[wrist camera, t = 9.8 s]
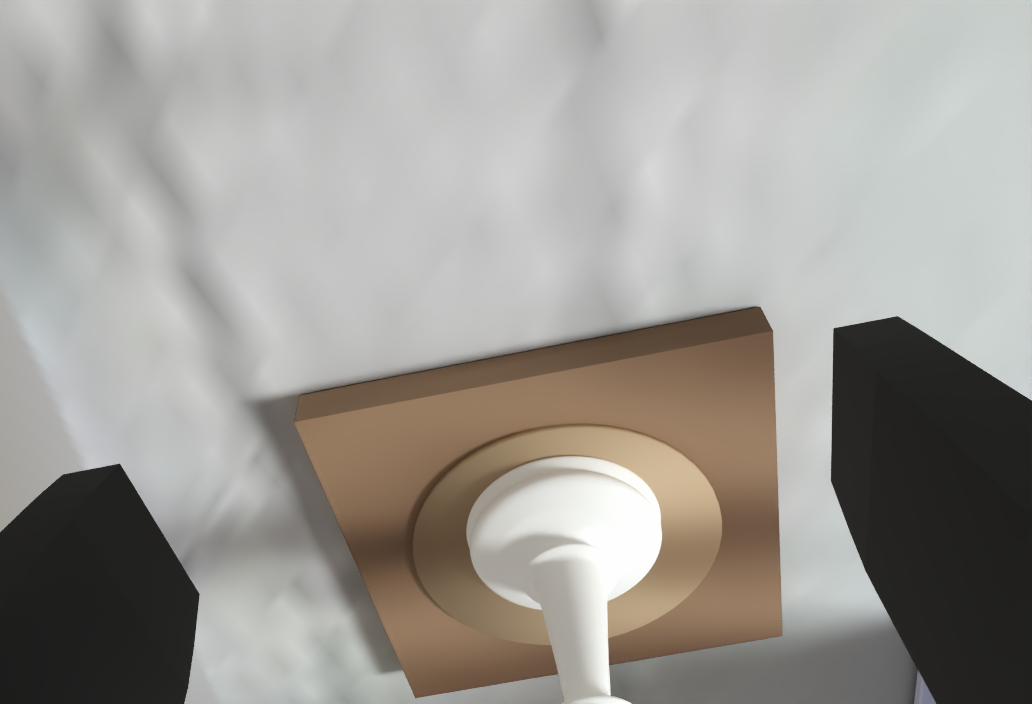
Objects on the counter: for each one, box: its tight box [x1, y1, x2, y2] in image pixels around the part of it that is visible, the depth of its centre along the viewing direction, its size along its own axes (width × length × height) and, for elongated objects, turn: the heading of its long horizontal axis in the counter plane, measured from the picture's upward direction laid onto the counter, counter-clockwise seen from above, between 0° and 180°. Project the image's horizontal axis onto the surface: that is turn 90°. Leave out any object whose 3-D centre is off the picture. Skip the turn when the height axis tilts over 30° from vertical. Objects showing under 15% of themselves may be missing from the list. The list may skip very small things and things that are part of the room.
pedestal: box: [294, 307, 782, 698], centre depth 24 cm, size 11×11×1 cm
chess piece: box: [466, 456, 662, 704], centre depth 19 cm, size 5×5×10 cm
